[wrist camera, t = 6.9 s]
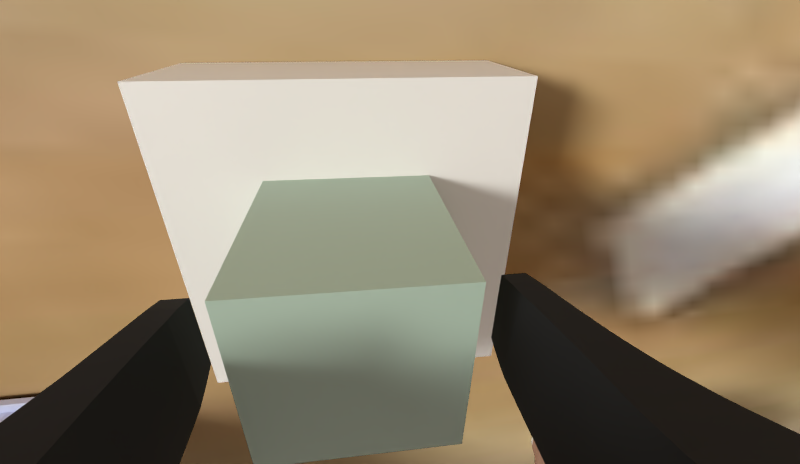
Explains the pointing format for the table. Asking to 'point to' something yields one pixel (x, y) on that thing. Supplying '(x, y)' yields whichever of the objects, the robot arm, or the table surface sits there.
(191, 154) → the painted block
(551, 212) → the table surface
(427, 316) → the green cube
